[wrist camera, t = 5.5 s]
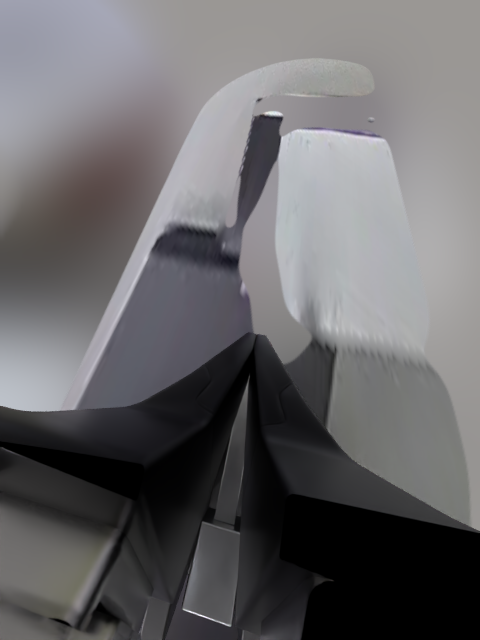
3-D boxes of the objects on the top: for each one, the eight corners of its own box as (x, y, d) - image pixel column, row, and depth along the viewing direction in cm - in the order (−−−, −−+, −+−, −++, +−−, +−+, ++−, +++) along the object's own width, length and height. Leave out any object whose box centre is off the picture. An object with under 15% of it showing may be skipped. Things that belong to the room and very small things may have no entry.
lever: (241, 340, 17) (241, 325, 15) (273, 346, 17) (278, 331, 15) (188, 572, 11) (172, 612, 8) (239, 589, 10) (238, 636, 8)
